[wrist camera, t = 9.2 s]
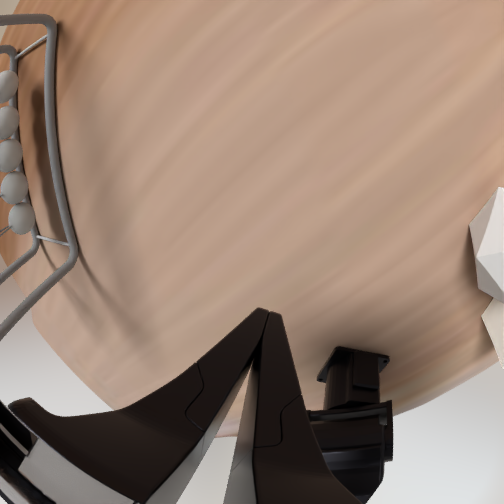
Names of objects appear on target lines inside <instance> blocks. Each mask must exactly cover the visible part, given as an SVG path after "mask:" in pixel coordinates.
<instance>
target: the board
mask: <svg viewBox="0 0 504 504" xmlns="http://www.w3.org/2000/svg"><path fill="white" fill-rule="evenodd" d="M481 317H482V319H483V321H484V324H485V326H486V328H487V330H488V333H489V335H490V337H491V340H492V342H493V345H494V347H495V350H496V352H497V355H498V358H499V361H500V363H501V366H502V368H503V369H504V303H502V302H500V301H499V300H497V299H495V298H493V299H492V301H491V302H490V304H489V305H488V307H487V308H486V310H485V311H484V313H483V314H482V315H481Z"/></svg>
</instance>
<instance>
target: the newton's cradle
mask: <svg viewBox="0 0 504 504" xmlns="http://www.w3.org/2000/svg"><path fill="white" fill-rule="evenodd" d="M16 24H43V25H45V26H46V28H47V35H45V36H44V37H42V38H41V39H39V40H38V41H36V42H35V43H33V44H32V45H31V46H29V47H28V48H26V49H25V50H24V51H22V52H21V53H20V54H17V51H16V49H15V48H14V47H13V46H11V45H1V46H0V54H1V53H7V54H8V55H9V56H10V70H8V71H4V72H2V73H0V103H4V102H7V101H8V100H9V106H5V107H2V108H1V109H0V140H3V139H7V138H9V137H10V136H11V138H12V139H7V140H5V141H3V142H2V143H1V144H0V171H2V172H10V173H9V174H7V175H6V176H5V178H4V179H3V181H2V184H1V194H0V197H2V198H3V199H4V201H5V202H7V203H9V204H16V205H15V206H14V207H13V208H12V209H11V211H10V214H9V226H7V227H5V228H4V229H6V228H8V227H9V228H8V229H7V230H5V231H4V232H3V233H2V234H1V235H3V234H4V233H5V232H6V231H8V230H9V229H10V228H11V229H12V230H13V231H14V232H15V233H17V234H20V235H23V234H26V233H28V232H29V231H31V234H32V237H33V245H32V247H31V249H30V250H29V251H27V252H26V253H25V254H23V255H22V256H21V257H20V258H18V259H17V260H16V261H15V262H14V263H12V264H11V265H10V266H9V267H8V268H7V269H5V270H4V271H3V272H2V273H1V274H0V285H1V284H2V283H3V282H4V281H5V280H6V279H7V278H8V277H9V276H10V275H12V274H13V273H14V272H15V271H16V270H18V269H19V268H20V267H21V266H22V265H23V264H25V263H26V262H27V261H28V260H29V259H31V258H32V257H33V256H34V255H35V254H36V253H37V251H38V248H39V245H40V239H43V240H47V241H50V242H54V243H58V244H62V245H66V246H69V249H70V255H69V258H68V260H67V261H66V262H65V263H64V264H63V265H62V266H61V267H60V268H58V269H57V270H56V271H55V272H54V273H53V274H52V275H50V276H49V277H48V278H47V279H46V280H45V281H44V282H43V283H42V284H41V285H40V286H38V287H37V288H36V289H35V290H34V291H33V292H32V293H31V294H30V295H29V296H28V297H27V298H26V299H25V300H24V301H23V302H22V303H21V304H20V305H19V306H18V307H17V308H16V309H15V310H14V311H13V312H12V313H11V314H10V315H9V316H8V317H7V318H6V319H5V320H4V322H3V323H2V324H1V325H0V341H1V339H3V337H4V336H5V335H6V334H7V333H8V332H9V331H10V330H11V328H12V327H13V326H14V325H15V324H16V323H17V322H18V321H19V320H20V319H21V318H22V317H23V316H24V314H25V313H26V312H27V311H28V310H29V309H30V308H31V307H32V306H33V305H34V304H35V303H36V302H37V301H38V300H39V299H40V298H41V297H42V296H43V295H44V294H45V293H46V292H47V291H48V290H50V289H51V288H52V287H53V286H54V285H55V284H56V283H57V282H58V281H59V280H60V279H61V278H62V277H63V276H65V275H66V274H67V273H68V272H69V271H70V270H71V269H72V268H73V267H74V265H75V263H76V261H77V257H78V246H77V242H76V238H75V234H74V230H73V227H72V223H71V219H70V214H69V210H68V206H67V201H66V196H65V191H64V186H63V180H62V174H61V168H60V161H59V154H58V145H57V136H56V124H55V107H54V66H55V49H56V38H57V24H56V21H55V20H54V19H53V17H51V16H50V15H47V14H12V15H0V26H4V25H16ZM46 38H47V43H46V55H45V77H44V97H45V120H46V132H47V142H48V151H49V158H50V165H51V171H52V177H53V183H54V188H55V193H56V198H57V203H58V207H59V211H60V215H61V219H62V223H63V227H64V231H65V234H66V238H67V241H68V243H67V242H63V241H59V240H55V239H51V238H47V237H43V236H39V233H38V230H37V226H36V223H35V212H34V209H33V208H32V206H31V204H30V200H29V195H28V181H27V178H26V176H25V175H24V170H23V164H22V156H23V150H22V146H21V144H20V143H19V133H18V125H19V113H18V111H17V95H16V91H17V88H18V84H19V79H18V76H17V61H18V57H20V56H21V55H22V54H24V53H25V52H26V51H28V50H29V49H31V48H32V47H34V46H35V45H36V44H38V43H39V42H41V41H43V40H44V39H46ZM15 169H16V171H13V170H15ZM11 171H13V172H11ZM21 201H22V202H21ZM19 202H21V203H19ZM17 203H18V204H17ZM4 229H2V230H0V232H1V231H3V230H4ZM1 235H0V236H1Z"/></svg>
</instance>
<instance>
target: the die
mask: <svg viewBox="0 0 504 504" xmlns="http://www.w3.org/2000/svg"><path fill="white" fill-rule="evenodd" d="M469 227H470V232H471V238H472V243H473V250H474V256H475V264H476V272H477V282H478V289H480V290H482V291H484V292H485V293H487V294H489V295H490V296H492V297H494V298H495V299H497V300H499V301H500V302H502V303H504V188H501V187H498V188H497V190H496V191H495V192H494V194H493V195H492V196H491V198H490V199H489V200H488V202H487V203H486V204H485V205H484V207H483V208H482V209H481V210H480V212H479V213H478V214H477V215H476V217H475V218H474V219H473V220H472V221H471V222H470V224H469Z"/></svg>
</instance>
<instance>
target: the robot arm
mask: <svg viewBox="0 0 504 504" xmlns="http://www.w3.org/2000/svg"><path fill="white" fill-rule="evenodd" d="M389 361H390V359H389V356H385V355H380V354H375V353H369V352H364V351H359V350H354V349H349V348H345V347H336V348H335V349H334V350H333V352H332V354H331V355H330V357H329V359H328V360H327V362H326V363H325V365H324V366H323V368H322V369H321V371H320V373H319V374H318V376H317V381H319V382H323V383H326V388H325V398H324V407H323V410H318V411H311V410H306V408H305V404H304V400H303V396H302V395H301V394H302V393H301V389H300V385H299V381H298V377H297V373H296V369H295V365H294V362H293V358H292V354H291V350H290V346H289V342H288V338H287V335H286V331H285V327H284V323H283V319H282V316H281V314H279V313H276V312H272V311H270V312H269V311H268V310H266V309H263V308H256V309H255V310H254V311H253V312H252V313H251V314H250V315H249V316H248V317H247V318H245V319H244V320H243V321H242V322H241V323H240V324H239V325H238V326H236V327H235V328H234V329H233V330H232V331H231V332H230V333H229V334H228V335H226V336H225V337H224V338H223V339H222V340H221V341H220V342H218V343H217V344H216V345H215V346H214V347H213V348H212V349H210V350H209V351H208V352H207V353H206V354H205V355H203V356H202V357H201V358H200V359H199V360H198V361H197V363H194V364H193V365H192V366H190V367H189V368H188V369H187V370H185V371H184V372H183V373H182V374H180V375H179V376H178V377H176V378H175V379H173V380H172V381H170V382H169V383H167V384H166V385H164V386H163V387H161V388H159V389H158V390H156V391H154V392H152V393H151V394H149V395H147V396H146V397H144V398H142V399H140V400H139V401H137V402H135V403H133V404H131V405H129V406H127V407H125V408H122V409H119V410H115V411H109V412H103V413H96V414H88V415H80V416H70V417H62V416H56V415H53V414H51V413H49V412H48V411H46V410H45V409H44V408H43V407H41V406H40V405H39V404H38V403H37V402H35V401H34V400H33V399H32V398H30V397H28V398H24V399H19V400H16V401H14V402H12V403H10V404H9V405H8V408H9V409H10V410H11V411H10V410H9V409H8V408H7V407H6V406H5V405H4V404H3V402H2V401H1V400H0V496H1V497H2V498H3V499H4V500H5V501H6V502H7V503H8V504H176V502H177V501H178V499H179V498H180V496H181V495H182V493H183V491H184V490H185V488H186V486H187V485H188V483H189V481H190V480H191V478H192V476H193V474H194V473H195V471H196V469H197V467H198V466H199V464H200V462H201V460H202V459H203V457H204V455H205V453H206V452H207V450H208V448H209V446H210V445H211V443H212V441H213V439H214V437H215V435H216V434H217V432H218V430H219V428H220V426H221V424H222V422H223V421H224V419H225V417H226V415H227V413H228V411H229V409H230V407H231V405H232V403H233V402H234V400H235V398H236V396H237V394H238V392H239V390H240V388H241V386H242V384H243V382H244V380H245V378H246V376H247V374H248V372H249V370H250V367H251V370H250V375H249V380H248V385H247V391H246V396H245V401H244V406H243V411H242V416H241V422H240V427H239V432H238V437H237V442H236V447H235V451H234V456H233V462H232V466H231V470H230V475H229V480H228V484H227V489H226V494H225V498H224V503H223V504H366V503H367V501H368V500H369V499H370V497H371V496H372V495H373V493H374V492H375V491H376V489H377V488H378V487H379V485H380V484H381V482H382V480H383V476H384V463H385V462H388V461H392V460H393V414H392V400H389V401H386V402H383V403H380V377H379V373H380V372H381V371H382V370H383V369H384V368H385V366H386V365H387V364H388V363H389ZM252 362H253V363H252ZM251 365H252V366H251ZM386 424H387V425H386ZM29 429H30V430H31V431H32V432H31V431H30V430H29Z"/></svg>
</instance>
